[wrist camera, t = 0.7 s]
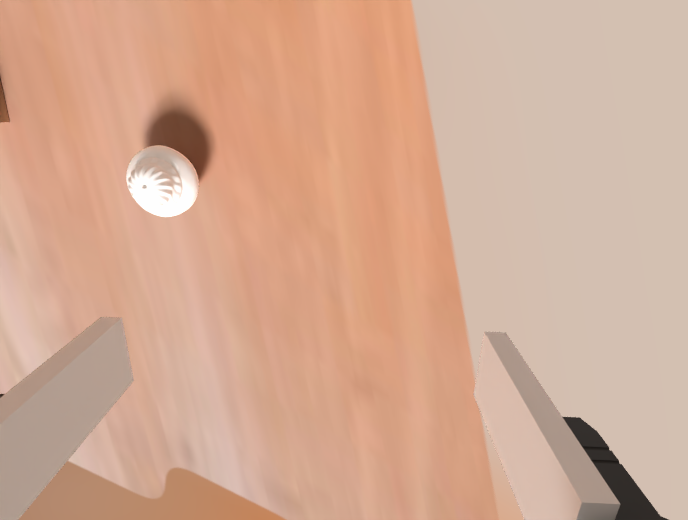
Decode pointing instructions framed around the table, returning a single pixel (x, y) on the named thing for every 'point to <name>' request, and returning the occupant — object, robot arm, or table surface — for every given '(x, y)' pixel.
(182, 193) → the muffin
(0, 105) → the brown wooden slab
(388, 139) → the table surface
